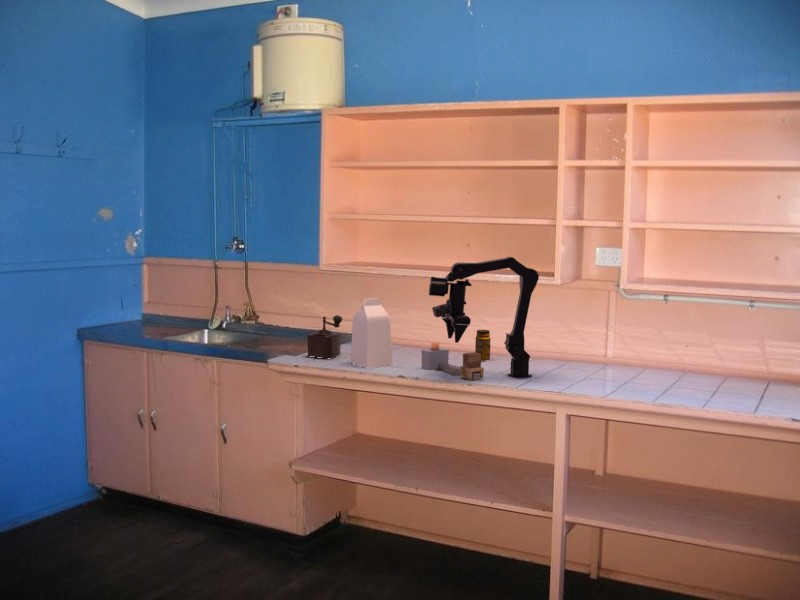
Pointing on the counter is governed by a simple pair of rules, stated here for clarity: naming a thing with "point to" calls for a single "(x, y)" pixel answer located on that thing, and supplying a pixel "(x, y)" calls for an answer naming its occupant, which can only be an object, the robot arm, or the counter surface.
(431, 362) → the grey peg holder
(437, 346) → the brown rounded piece
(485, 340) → the condiment
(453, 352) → the counter surface
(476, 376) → the rail
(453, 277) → the robot arm
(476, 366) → the carriage
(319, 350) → the manual coffee grinder
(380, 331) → the milk
